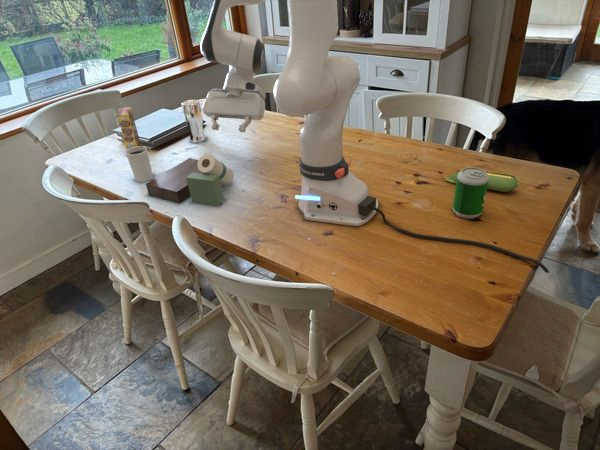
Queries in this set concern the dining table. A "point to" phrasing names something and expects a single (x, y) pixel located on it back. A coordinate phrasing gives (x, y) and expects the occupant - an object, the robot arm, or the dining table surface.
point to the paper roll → (215, 168)
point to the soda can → (470, 192)
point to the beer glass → (194, 120)
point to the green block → (205, 188)
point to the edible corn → (495, 181)
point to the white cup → (140, 163)
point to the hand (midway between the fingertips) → (228, 130)
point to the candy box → (128, 128)
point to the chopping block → (173, 182)
